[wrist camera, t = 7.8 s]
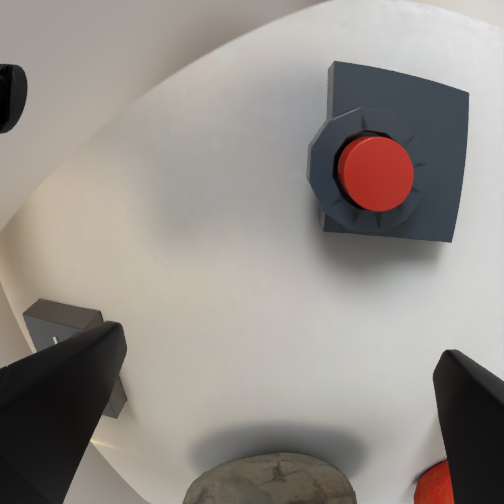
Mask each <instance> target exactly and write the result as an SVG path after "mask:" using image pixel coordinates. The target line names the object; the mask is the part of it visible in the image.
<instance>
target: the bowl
mask: <svg viewBox="0 0 504 504" xmlns="http://www.w3.org/2000/svg"><path fill="white" fill-rule="evenodd" d="M183 504H357V500H356V494H355V491H353V488H352V486H351V484H350V482H349V481H348V479H347V477H346V475H344V474H343V473H342V472H341V471H339V470H338V469H337V468H336V467H334V466H333V465H332V464H330V463H328V462H326V461H323V460H321V459H318V458H315V457H313V456H310V455H304V454H297V453H287V452H280V453H271V454H265V455H257V456H252V457H247V458H242V459H238V460H234V461H231V462H227V463H225V464H222V465H219V466H217V467H215V468H213V469H211V470H209V471H207V472H205V473H203V474H202V475H201V476H199V477H198V478H197V479H196V480H195V481H194V482H193V483H192V484H191V486H190V487H189V489H188V490H187V493H186V496H185V498H184V501H183Z"/></svg>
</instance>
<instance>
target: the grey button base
mask: <svg viewBox="0 0 504 504" xmlns="http://www.w3.org/2000/svg"><path fill="white" fill-rule="evenodd" d="M468 115H469V93H468V92H465V91H462V90H459V89H456V88H453V87H450V86H447V85H444V84H441V83H437V82H434V81H431V80H427V79H423V78H420V77H416V76H412V75H408V74H404V73H399V72H395V71H390V70H386V69H381V68H376V67H370V66H365V65H359V64H352V63H346V62H339V61H334V62H333V63H332V65H331V66H330V67H329V69H328V100H327V121H326V122H324V124H323V125H322V127H321V128H320V130H319V131H318V133H317V134H316V136H315V137H314V138H313V140H312V141H311V143H310V144H309V147H308V159H307V175H306V176H307V179H308V181H309V184H310V186H311V188H312V190H313V192H314V194H315V196H316V198H317V200H318V202H319V204H320V217H319V222H320V224H321V227H322V229H323V231H324V232H337V233H350V234H362V235H374V236H386V237H397V238H408V239H419V240H430V241H440V242H450V243H451V242H452V238H453V234H454V229H455V224H456V219H457V214H458V208H459V203H460V197H461V190H462V183H463V176H464V168H465V159H466V148H467V135H468ZM365 136H374V137H385V138H389V139H391V140H393V141H395V142H397V143H398V144H399V145H401V146H402V147H403V148H404V149H405V151H406V152H407V154H408V155H409V157H410V159H411V162H412V165H413V171H414V179H413V185H412V188H411V190H410V192H409V194H408V196H407V197H406V199H405V200H404V201H403V202H402V203H401V204H399V205H398V206H397V207H395V208H393V209H390V210H387V211H381V212H376V211H370V210H367V209H365V208H363V207H361V206H360V205H358V204H357V203H356V202H355V201H354V200H353V199H352V198H351V197H350V196H349V195H348V194H347V193H346V192H345V191H344V189H343V187H342V186H341V183H340V181H339V177H338V162H339V158H340V156H341V154H342V152H343V150H344V149H345V148H346V146H347V145H348V144H349V143H351V142H352V141H354V140H356V139H358V138H361V137H365Z"/></svg>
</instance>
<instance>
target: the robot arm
mask: <svg viewBox="0 0 504 504" xmlns="http://www.w3.org/2000/svg"><path fill="white" fill-rule="evenodd" d="M12 68H13V66H12V65H11V64H8V65H6V66H4V67H2V68H0V125H3V124H6V123H8V121H9V118H10V92H11V79H12ZM126 352H127V345H126V340H125V336H124V331H123V327H122V325H121V324H120V323H118V322H113V321H106V322H103V323H101V324H99V325H97V326H94V327H92V328H90V329H88V330H86V331H83V332H81V333H79V334H77V335H74V336H72V337H70V338H68V339H66V340H63V341H61V342H59V343H57V344H54V345H52V346H50V347H48V348H45V349H43V350H41V351H39V352H37V353H34V354H32V355H30V356H28V357H25V358H23V359H21V360H19V361H17V362H14V363H12V364H10V365H8V367H7V366H5V367H3V368H1V369H0V504H63V501H64V499H65V496H66V494H67V492H68V489H69V487H70V484H71V482H72V480H73V477H74V475H75V472H76V470H77V468H78V466H79V463H80V461H81V459H82V456H83V454H84V452H85V450H86V448H87V446H88V443H89V441H90V439H91V437H92V435H93V432H94V430H95V428H96V426H97V424H98V422H99V420H100V418H101V416H102V413H103V411H104V409H105V407H106V405H107V403H108V401H109V399H110V397H111V394H112V391H113V389H114V386H115V383H116V380H117V377H118V375H119V372H120V369H121V367H122V364H123V361H124V359H125V356H126ZM433 383H434V389H435V395H436V402H437V408H438V416H439V422H440V427H441V431H442V436H443V440H444V445H445V450H446V455H447V460H448V466H449V471H450V477H451V484H452V490H453V498H454V504H504V381H503V380H501V379H500V378H498V377H497V376H495V375H494V374H492V373H491V372H490V371H488V370H487V369H485V368H484V367H482V366H481V365H479V364H478V363H476V362H475V361H473V360H472V359H470V358H469V357H468V356H466V355H465V354H463V353H462V352H460V351H459V350H456V349H454V350H446V351H444V352H443V354H442V355H441V358H440V360H439V362H438V364H437V366H436V368H435V370H434V373H433Z"/></svg>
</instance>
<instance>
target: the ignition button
mask: <svg viewBox="0 0 504 504" xmlns="http://www.w3.org/2000/svg"><path fill="white" fill-rule="evenodd" d="M338 177H339V181H340V183H341V186H342V187H343V189H344V191H345V192H346V193H347V194H348V195H349V196H350V197H351V198H352V199H353V200H354V201H355V202H356V203H357V204H358V205H360V206H361V207H363V208H365V209H367V210H370V211H376V212H381V211H387V210H390V209H393V208H395V207H397V206H398V205H399V204H401V203H402V202H403V201H404V200H405V199H406V197H407V196H408V194H409V192H410V190H411V188H412V185H413V179H414V171H413V165H412V162H411V159H410V157H409V155H408V154H407V152H406V151H405V149H404V148H403V147H402V146H401V145H399V144H398V143H397V142H395V141H393V140H391V139H389V138H385V137H374V136H365V137H361V138H358V139H356V140H354V141H352V142H351V143H349V144H348V145H347V146H346V148H345V149H344V150H343V152H342V154H341V156H340V158H339V162H338Z"/></svg>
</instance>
